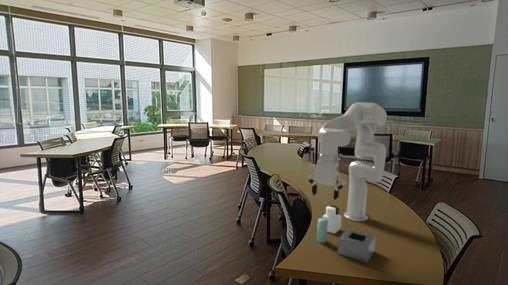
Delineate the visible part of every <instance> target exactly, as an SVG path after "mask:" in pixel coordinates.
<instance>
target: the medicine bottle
mask: <svg viewBox="0 0 508 285" xmlns="http://www.w3.org/2000/svg"><path fill="white" fill-rule="evenodd" d="M339 210H340V208H339V207H338V206H336V205H334V204H333V205H332V204H330V205H327V206H326V207H325V214H323V215H322V216H321V218H324V219H327V220H328V225H327V233H331V234H336V233H337V232H339V231H340V230H341V228H342V226H341V225H342V215H339Z"/></svg>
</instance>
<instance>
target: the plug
mask: <svg viewBox="0 0 508 285" xmlns="http://www.w3.org/2000/svg"><path fill="white" fill-rule="evenodd" d="M327 225H328V220H327V219H324V218H322V217H319V218H318V219H317V226H316V227H317V228H316V242H317V243H319V244H326V243H327V237H328V236H327V234H328V232H327Z"/></svg>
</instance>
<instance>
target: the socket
mask: <svg viewBox="0 0 508 285" xmlns="http://www.w3.org/2000/svg"><path fill="white" fill-rule="evenodd" d="M376 237H377V236H376V235H373V234H369V233H366V232H363V231H358V230H356V229H355V230H354V229H352V228H351V229H350V228H347V229H346V230H345V231H344V232H343V233H342V234H341V235H340V236H339V237H338V244H337V254H338V255H341V256H343V257H346V258H350V259H353V260H356V261H358V262H359V261H360V262H363V263H365V264H367V263H368V262H369V260H370V259H371V257H372V256H373V254H374V252H375V246H376Z"/></svg>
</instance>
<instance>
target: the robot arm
mask: <svg viewBox="0 0 508 285" xmlns="http://www.w3.org/2000/svg"><path fill="white" fill-rule="evenodd" d="M387 118H388V117H387V111H386V110H385V109H384V108H383V107H382V106H381V105H379V104H378V103H376V102H361V101H359V102H357V101H356V102H354V103H352V104H351V105H350V107H349V108H348V109H347V110H346V111H345V112H344V114H343V115H340V116H338V117H335V118H333V119H330V120H328V121H326V123H324V125H322V127H321V128H320V130H319V131H318V134H317V140H318V142H319V154H318V160H317V161H316V165H315V169H314V172H313V173H310V174H307V176H306V177H307V178H308V182H309V183H310V185H311V186H312V187H311V193H312V196H315V195H317V193H318V185H317V184H321V185H327V186H333V188H334V191H333V200H334V201H335V200H337V199H339V194H340V190H341V189H342V188H344V186H345V185H346V184H347V181H346V180H345V179H343V178H342V177H340V164H339V162H340V160H341V157H339V156H338V149H339V148H338V147H346V146H347V145H349V144H350V142H351V139H352V137H351V133H350V132H349V131H352V130H355V129H356V133H357V134H356V141H355V146H354V147H355V148H354V156H355V157H356V158H358V159H362V160H353V161H351V162H350V164H349V165H348V176H349V180H348V181H349V184H348V194H347V195H348V196H347V207H346V211H345V212H344V213H343V217H344V218H346V219H347V220H350V221H354V222H366V221H367V220H368V219H369V218H368V217H369V216H368V215H367V214H366V207H367V197H368V196H367V194H368V186H367V182H366V181H369V182H376V183H379V182H380V181H381V180H383V175H384V170H385V162H386V158H387V148H386V146H385V145H384V144H383V143H380V142H374V137H375V132H374V130H373V128H372V127H371V126H379V127H380V126H384V125H385V123H386V122H387ZM364 160H367V161H364ZM368 160H369V161H373V162H368ZM338 161H339V162H338ZM312 177H313V178H312ZM339 182H340V185H339Z"/></svg>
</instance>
